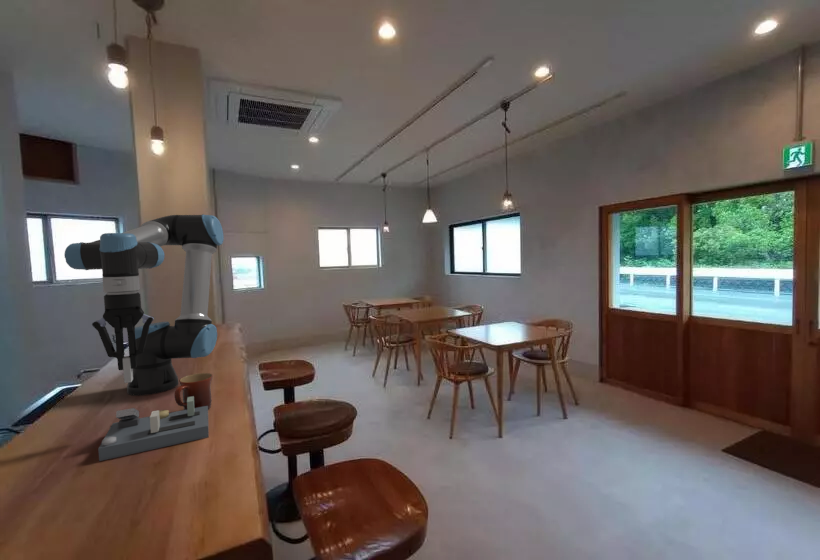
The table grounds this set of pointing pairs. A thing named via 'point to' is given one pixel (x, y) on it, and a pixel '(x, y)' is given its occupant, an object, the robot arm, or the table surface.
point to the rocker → (127, 413)
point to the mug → (195, 390)
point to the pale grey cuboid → (154, 421)
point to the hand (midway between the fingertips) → (128, 381)
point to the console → (139, 438)
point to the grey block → (190, 406)
